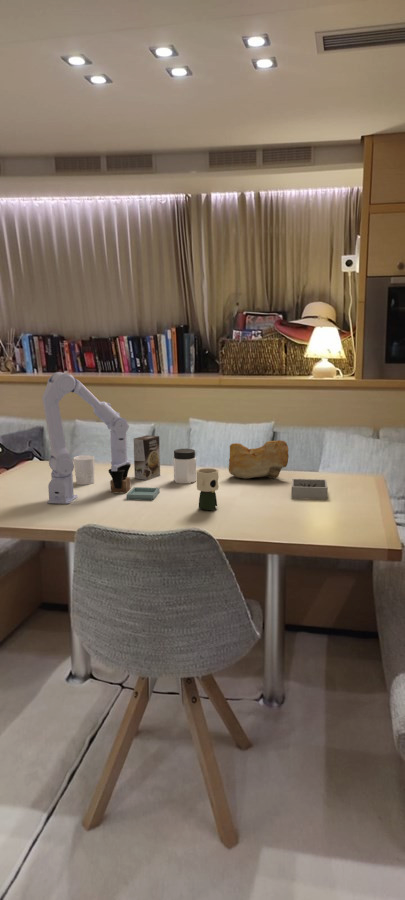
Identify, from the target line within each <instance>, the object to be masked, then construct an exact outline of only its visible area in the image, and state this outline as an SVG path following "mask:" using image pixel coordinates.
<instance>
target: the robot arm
mask: <svg viewBox="0 0 405 900" xmlns="http://www.w3.org/2000/svg"><path fill="white" fill-rule="evenodd" d="M45 386H46V387H45V389H44V392H43V394H42V398H41V400H42V405H43V410H44V416H45V422H46V427H47V434H48V438H49V440H48V441H49V445H50V450H49V455H50V456H49V460H48V466H49V468H50V469H51V473H50V474H51V475H50V479H51V480H50V481H49V483H48V487H47V488H48V489H47V490H48V498H49V499H48V500H47V501H46V504H63V505H64V504H65V505H67V504H70V503H72V502H73V501H74V500H75V499H76V498H78V496H79V495H78V494H74V480H73V479H74V478H73V476H74V475H73V472H74V470H75V468H74V461H72V459H71V457H70V453H69V451H68V448H67V445H66V440H65V434H64V427H63V422H62V415H61V410H60V404H59V403H60V401H61V400H62V399H63V398H64V397H65V396H66V395H67V394H69V393H72V394H77V396H79V397H80V398H81V399H82V400H84V401H85V402H86V403H87V404H89V406H90V407H92V408H93V414H94V415H95V416H96V417H97V418H98V419H100V420H101V422H102V423H104V424H105V425H106V426H107V428H108V429H107V430H109V432H110V453H111V455H110V456H111V458H110V459H111V461H110V464H111V466H110V468H109V469H108V474H109V475H110V476H111V480H112V479H113V483H114V486H115V488H118V489H121V486H122V478H123V477H128V475H129V470H130V468H131V463H132V462H131V460H128V446H127V445H128V443H127V432H128V430H129V428H130V425H129V424H128V420H126V418H123V417H121V413H120V412H118V411H116V410H115V409H113V407H111V406H112V404H111V403H110V402H106V401H100V400H99V399H98V398H97V397H96V396H95V395H94V394H93V393H92V392H91V391H90V390H89V389H88V388H87V387H86V386H85V385H84V384H83V383H82V382H81V381H80V380H79V379H77V378H75V377H74V375H72V374H71V373H64V372H61V371H56V372H54V373H53V374H51V376H50V377H49V378H48V379H47V383H46V385H45Z"/></svg>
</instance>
